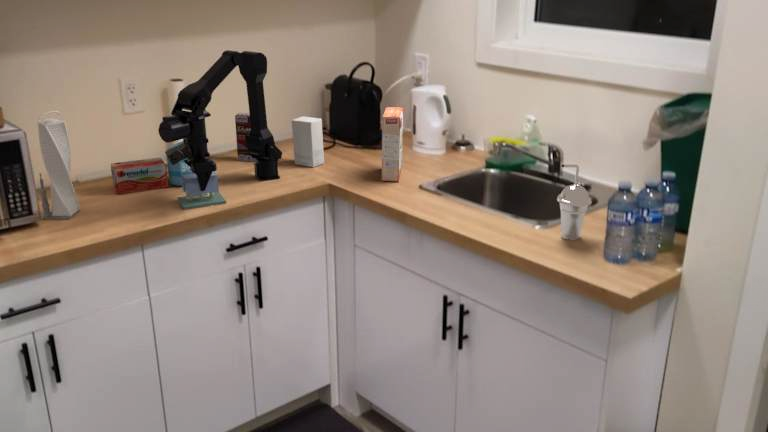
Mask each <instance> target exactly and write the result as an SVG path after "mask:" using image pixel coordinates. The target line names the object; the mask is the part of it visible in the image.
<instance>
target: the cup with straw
mask: <svg viewBox="0 0 768 432" xmlns="http://www.w3.org/2000/svg"><path fill="white" fill-rule="evenodd" d="M561 167H562V168H575V174H574V175H575V176H574V183H573V184H569V185H567V186H565V187H564V188H563V189H562V191H561V193H560V194H558V195H557V198H556V201H557V202H558V203H559V209H560V233H561V234H560V235H561V236H562V237H561V238H563V239H566V240H568V239H569V241H575V240H579V239H580V235H581V233H582V228H583V224H584V219H585V217H586V213H587V210H588V207H589V206H590V205H591V204H592V198H591V196H589V193H588V191H587V189H586V188H585V187H583V186H582V185H580V184H578V180H579V172H580V171H579V170H580V168H579V165H578V164H564V163H563V164H562V165H561Z"/></svg>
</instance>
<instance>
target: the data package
mask: <svg viewBox="0 0 768 432" xmlns="http://www.w3.org/2000/svg"><path fill="white" fill-rule="evenodd" d="M180 144H183V140H182V141H179V142H177V143H175V144H173V145H171V146H169V147H167V149H166V151H167V150H169V149H171V148H173V147H175V146H177V145H180ZM184 160H187V159H184ZM184 160H182V161H180V162H178V163H177V164H175V165H172V164H171V163H170V161H169V159H168V157H167V156H166V162H167V174H168V183H169V184H170V185H171V186H178V187H179V186H180V187H183V185H182V175H181V174H185V173H192V171H191V170H190V169H191V167H190V166H188V165H187V164H186V163H185V162H184Z"/></svg>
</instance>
